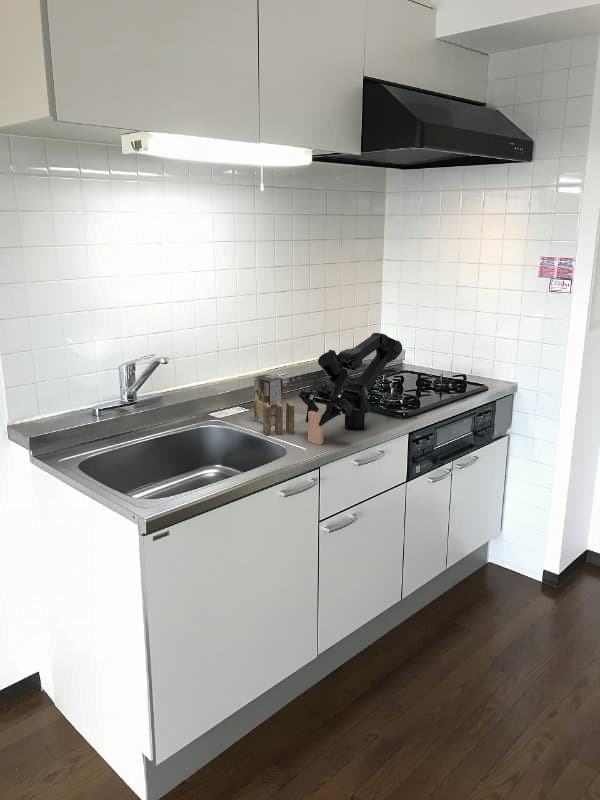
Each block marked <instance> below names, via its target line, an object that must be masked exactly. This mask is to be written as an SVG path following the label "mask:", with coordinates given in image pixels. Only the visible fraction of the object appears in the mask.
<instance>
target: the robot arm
mask: <svg viewBox="0 0 600 800" xmlns="http://www.w3.org/2000/svg"><path fill="white" fill-rule="evenodd" d="M374 352H375V356H374V357H373V359H372V360H371V361H370V363H369V364H368V365H367V367H366V369H365V370H364V371H363V372H362V373H361V375H360V377H359V378H358V380H357V381H356V382H352V381H353V379H352V375H351V372H348V370H349V371H357V370H358V369H359V368H360V367H361V366H362V365H363V360H364V359H366V358H367V357H369V355H371V354H372V353H374ZM402 352H403V344H402V343H401V341H400V340H396V339H394V338H392V337H389V336H388V335H387V334H386V333H383V332H382V333H380V332H373V333H372V334H371V335H370V336H368V337H367V338H366V339H365V340H363V341H362V342H360V343H359V344H358V345H356V346H354V347H353V348H347V349H343V350H341V351H340V352H339V353H337V352H336V351H335V350H333V349H329V350H328V351H327V352H325V353H323V354H321V355H320V356H319V357H318V359H317V363H318V366H319V367H320V368H321V370H322V371H323V372H324V373H325V375H326V376H328V379H327V380H323V381H322V380H316V379H312V381H311V385H310V390H311V391H310V390H306V389H301V390H300V392H299V394H298V395H297V396H298V397H299V399H301V401H302V402H303V403H304V405H306V406H307V409H306V417H305V422H306V423H307V424H308V412H309V411H314V412H319V410H320V408H319V407H318V404H320V405H324V406H325V411H324V412H323V413H322V414H323V416H322V418H321V420H320V422H319V426H322V425H323V426H324V425H325V424H326V423H328V422H329V421H331V420H332V419H334V418H336V417H337V416H341V415H342V414H343V415H344V427H345V430H351V429H353V430H354V431H355V430H357V431H365V430H366V427H365V426H366V425H365V424H366V423H365V422H366V420H365V418H366V414H368V413H369V412H370V411H371V407H372V405H371V403H370V401H368V399H369V394H368V393H369V390H370V389H371V387H372V386H373V385H374V383H375V382H376V380H377V378H378V377H379V376H380V374H381V373H382V371H384V369H385V368H386V366H387V365H388V364H389V363H390V362H393V361H395V360H396V359H397V358H398V357H400V355H401V353H402ZM347 382H348V383H347ZM346 383H347V384H346ZM345 385H346V386H345ZM312 391H315V394H316V395H317V396H316V395H315V394H314V392H312Z"/></svg>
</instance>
